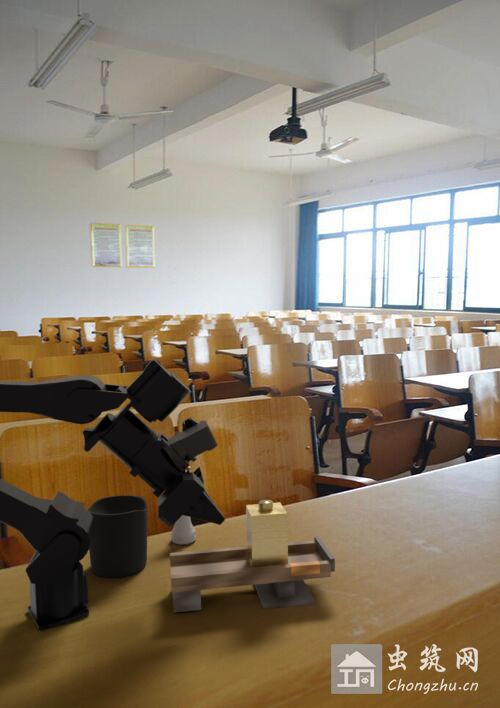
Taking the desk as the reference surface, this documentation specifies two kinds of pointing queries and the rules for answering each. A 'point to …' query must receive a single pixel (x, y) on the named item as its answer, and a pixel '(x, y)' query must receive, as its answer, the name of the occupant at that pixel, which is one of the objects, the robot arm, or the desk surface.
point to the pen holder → (119, 536)
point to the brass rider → (266, 534)
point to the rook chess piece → (183, 531)
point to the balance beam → (249, 574)
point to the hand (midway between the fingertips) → (222, 521)
